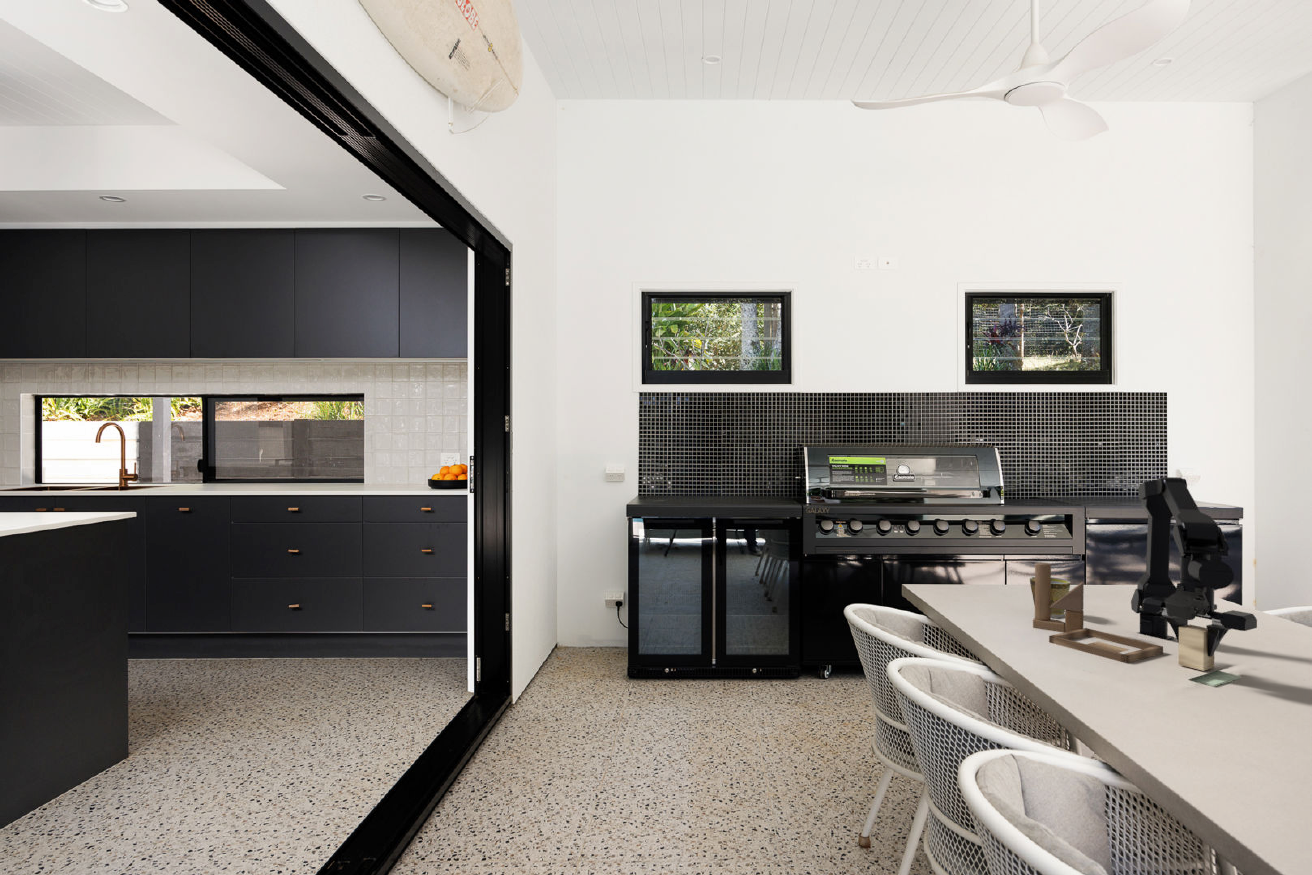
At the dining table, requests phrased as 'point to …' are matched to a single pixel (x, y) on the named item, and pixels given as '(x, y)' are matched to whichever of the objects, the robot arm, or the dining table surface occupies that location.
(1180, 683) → the dining table surface
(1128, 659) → the wooden rectangular frame
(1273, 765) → the dining table surface
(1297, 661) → the dining table surface
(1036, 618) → the wooden block structure
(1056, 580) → the yellow green glass cup
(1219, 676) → the green mat
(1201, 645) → the beech block
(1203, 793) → the dining table surface
